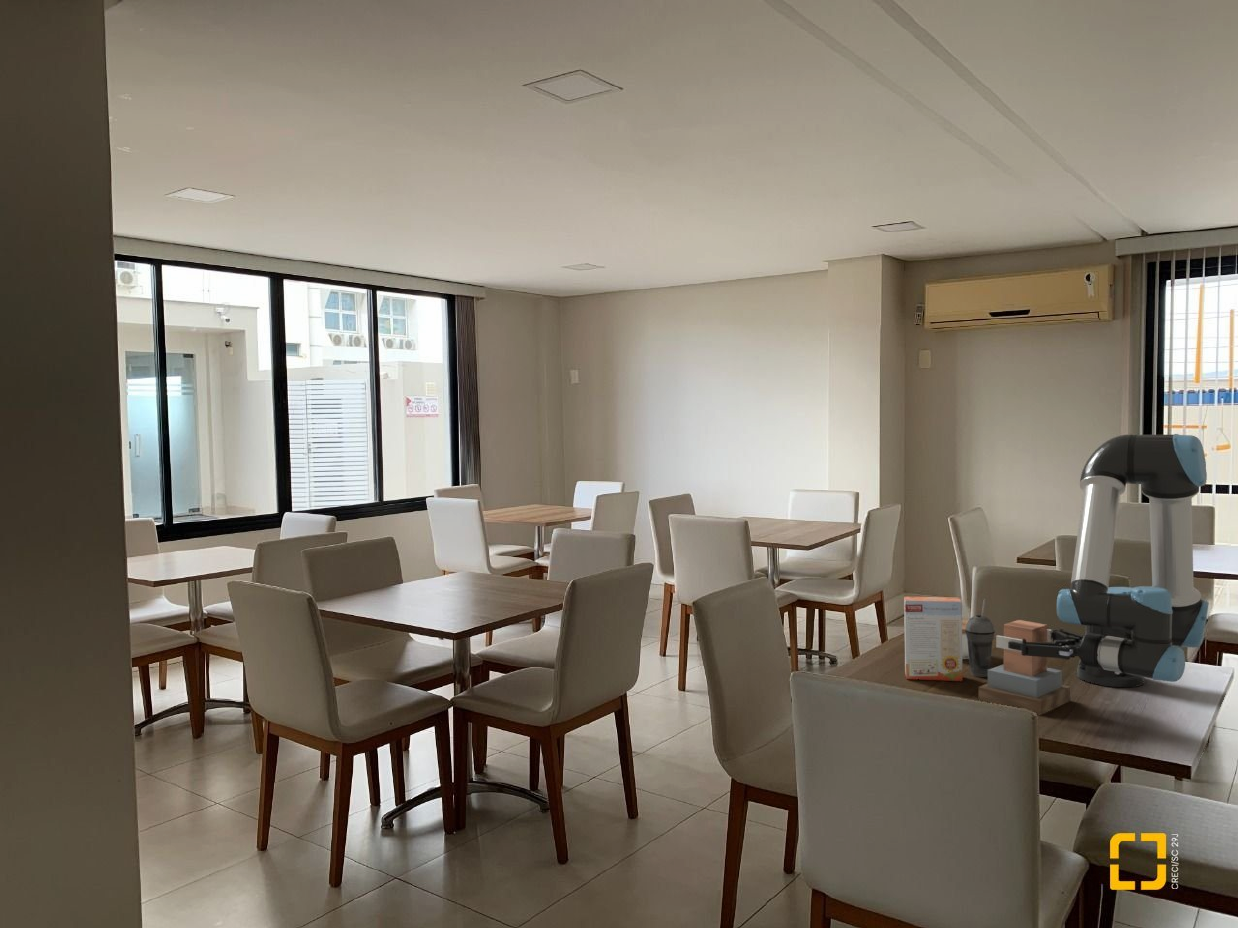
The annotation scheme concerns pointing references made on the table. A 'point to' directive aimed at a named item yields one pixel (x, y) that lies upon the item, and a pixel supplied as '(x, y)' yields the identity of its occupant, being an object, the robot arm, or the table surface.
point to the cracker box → (933, 638)
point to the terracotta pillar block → (1015, 658)
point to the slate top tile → (1025, 681)
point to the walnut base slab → (1026, 698)
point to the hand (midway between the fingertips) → (1010, 636)
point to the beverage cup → (979, 643)
